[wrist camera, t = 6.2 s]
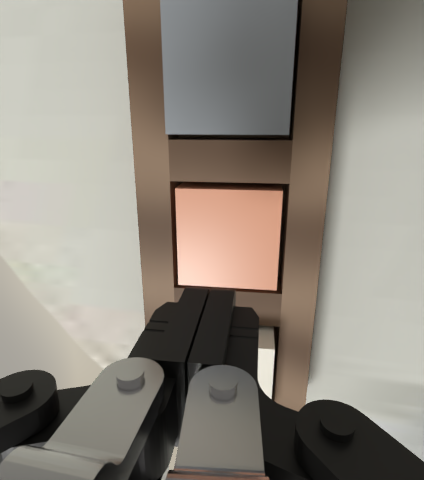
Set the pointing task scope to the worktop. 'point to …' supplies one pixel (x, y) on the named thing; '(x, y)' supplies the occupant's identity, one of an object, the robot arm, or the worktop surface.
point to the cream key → (266, 358)
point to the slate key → (228, 66)
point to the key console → (243, 178)
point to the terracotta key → (228, 234)
